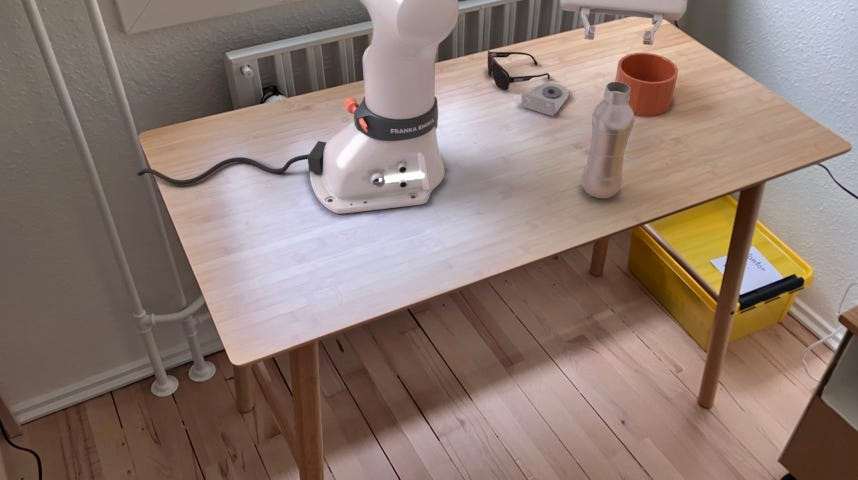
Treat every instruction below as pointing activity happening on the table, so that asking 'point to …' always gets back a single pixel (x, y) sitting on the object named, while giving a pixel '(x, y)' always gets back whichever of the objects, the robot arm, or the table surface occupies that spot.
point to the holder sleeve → (648, 82)
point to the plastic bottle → (608, 142)
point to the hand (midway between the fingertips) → (618, 41)
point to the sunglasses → (502, 75)
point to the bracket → (546, 98)
